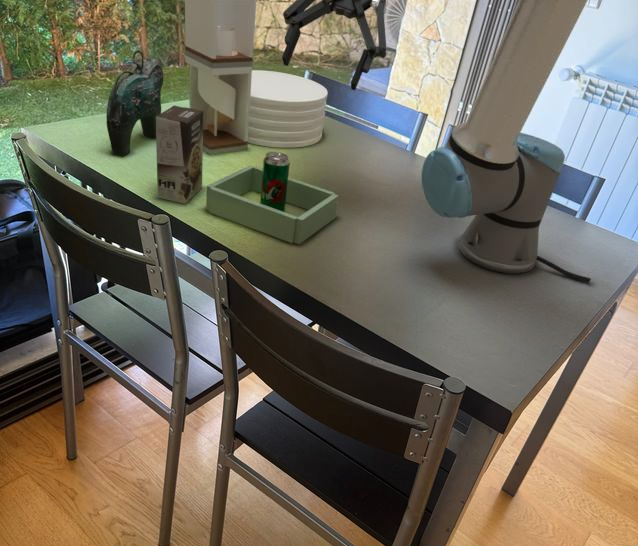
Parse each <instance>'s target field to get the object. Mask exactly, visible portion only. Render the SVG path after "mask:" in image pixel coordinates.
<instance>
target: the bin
mask: <svg viewBox="0 0 638 546" xmlns="http://www.w3.org/2000/svg"><path fill="white" fill-rule="evenodd" d="M262 172H263V167H260V166H253V165H248V166H246V167H243V168H241V169H239V170H237V171H234V172H233V173H231V174H229V175H226V176H224V177H222V178H221V179H220V178H219V179H218V180H215V181H213V182H212V183H210V184H207V185H206V194H205V195H206V197H205V198H206V200H205V201H206V202H205V209H206V210H207V211H208V213H210V214H213V215H215V216H218V217H220V218H223V219H226V220H229V221H232V222H234V223H236V224H239V225H242V226H245V227H246V228H247V227H248V228H250V229H253V230H255V231H258V232H261V233H263V234H266V235H268V236H272V237H274V238H276V239H279V240H282V241H283V242H284V241H285V242H287V243H290V244H294V243H295V244H297V245H300V244H302V243H303V242H305V241H306V240H307V239H308V238H311V237H312V236H313V235H314V234H316V233H317V232H318V231H320V230H321V229H322V228H324V227H325V226H327V225H328V224H329V223H330V222H332V221H333V220H335V219H336V215H337V209H338V204H339V203H338V202H339V198H340V197H339V196H340V195H338V194H336V193H335V192H333V191H330V190H327V189H325V188H321V187H320V186H319V187H318V186H316V185H313V184H311V183H307V182H304V181H301V180H298V179H295V178H292V177H290V176H288V185H287V195H286V204H287V203H288V204H290V205H292V206H296V207H299V208H301V209H304V210H307V211H305V212H304V213H302V214H301V215H299V216H297V215H293V214H290V213H288V212H286V211H285V212H282V211H280V210H277V209H274V208H271V207H268V206H266V205H263V204H260V202H258V201H254V200H252V199H249V198H247V197H243V195H245V194H246V193H248V192H250V191H252V192H253V191H254V192H256V193H260V194H261V185H262Z"/></svg>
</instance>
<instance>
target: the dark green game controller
mask: <svg viewBox="0 0 638 546" xmlns="http://www.w3.org/2000/svg"><path fill="white" fill-rule="evenodd" d="M138 53H139V54H140V57H141V61H134V59H135V57H136V55H137V54H138ZM132 59H133V63H134V64H135V66H134V69H133V71H130V70H125V71H122V72H121V73H119V74H118V76H116V77H115V80H114V84H113V86H112V88H111V89H110V93H109V96H108V101H107V108H106V114H105V115H106V116H105V117H106V129H107V134H108V139H109V142H110V149H111V153H112V155H114V156H119V157H125V156H127V155H129V154H130V153H131V141H132V134H133V131H134V128H135V125H136V124H137V122H138V121H140V125H141V132H142V135H143V137H145V138H148V139H153V140H156V116H158V115H159V114H161V113H162V99H161V98H162V97H161V96H162V95H161V94H162V92H161V91H162V87H163V84H164V72H163V67H162V66H161V65H160V64H159V63H156V62H154V61H153V60H152V59H151V57H150V55H149V54H146V59H144V54H143V52H142V51H141V50H138V49H136V50H134V51H132Z"/></svg>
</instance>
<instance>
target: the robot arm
mask: <svg viewBox="0 0 638 546" xmlns="http://www.w3.org/2000/svg"><path fill="white" fill-rule="evenodd" d="M315 1H316V0H295V1H294V2H293V3H292V4H290V5H289V6H288V7H287V8H286V9H285V10H284V11H283V13H282V17H283V19H284V23H285V25H288V28H287V29H286V33H285V35H284V44H285V49H284V51H283V53H282V56H281V60H282V62H283V63H282V64H283V65H284V66H286V67H288V66H289V64H290V62H291V59H292V57H293V54H294V52H295V49H296V47H297V44H298V42H299V39H300V37H301V34H302V32H301V29H302V28H304V27H306V26H307V25H309V24H311V23H313V22H314V21H316V20H317V19H320V18H321V17H323V16H325V15H329V14H331V13H333V12H334V13H335V15H338V16H344V17H345V18H347V19H349V20H352V19H355V18H356V21H357V24H358V26H359V29H360V30H359V31H360V33H361V36H362V39H363V41H364V44H365V48H366V49H365V48H364V49H363V51H362V54H361V56H360V59H359V61H358V64H357V66H356V68H355V70H354V73H353V75H352V77H351V80H350V89H351V90H352V91H356V90H357V86H358V85H359V82H360V80H361V77H362V75H363V73H364V74H368V73H369V72H370V69H371V67H372V64H373V62H374V59H375V58H381V59H385V58H386V57H387V40H386V39H387V37H386V25H385V24H386V23H385V14H386V9H387V0H321V1H319V2H317V3H315V4H314V5H312V4H313V3H314V2H315ZM587 3H588V0H518V2H517V4H516V6H515V8H514V11H513V13H512V16H511V18H510V19H509V22H508V24H507V27H506V29H505V31H504V34H503V36H502V38H501V40H500V43H499V45H498V48H497V50H496V52H495V55H494V57H493V59H492V62H491V64H490V65H489V68H488V71H487V73H486V76H485V77H484V80H483V81H482V85H481V87H480V88H479V91H478V94H477V96H476V98H475V101H474V103H473V106H472V108H471V111H470V112H469V114H468V117H467V119H466V121H464V122H462V123H459V124H456V125H455V126H454V127H453V129H452V131H451V133H450V135H449V138H448V141H447V143H446V145H445V146H444V147H443V146H439V147H437V148H436V149H434V150H432V151H430V152H429V153H428V154H427V156H426V157H425V159H424V161H423V164H422V168H421V185H422V186H421V187H422V190H423V195H424V198H425V200H426V202H427V204H428V205H429V207H430V209H432V211H433V212H435V214H437V215H439V216H440V217H443V218H446V219H447V218H449V219H450V218H451V219H453V218H454V219H455V218H458V219H463V218H466V217H471V216H474V218H473V219H472V220H471V221H470V223H469V225H468V226H467V227H466V229H465V230H464V231H463V233H462V234H461V237H460V240H459V244H458V249H459V251H460V253H461V254H462V255H463V257H465V258H466V259H467V260H468V261H470V262H472V263H474V264H475V265H477V266H479V267H481V268H484V269H487V270H489V271H493V272H496V273H497V272H498V273H503V274H513V275H515V274H523V273H527V272H529V271H531V270H533V268H534V267H535V265H536V262H537V261H538V262H540V263H542V264H543V265H545V266H548V267H550V268H551V269H553V270H554V271H556V272H558V273H560V274H562V275H564V276H565V277H569V278H571V279H574V280H578V281H580V282H581V281H582V282H585V283H588V284H589V283H590V282H591V280H592V279H591V278H590V277H586V276H583V275H580V274H576V273H572V272H570V271H568V270H565V269H564V268H562V267H560V266H559V265H556V264H555V263H554V262H552V261H549V260H547V259H545V258H544V257H542V256H539V231H540V225H541V223H542V221H543V218H544V216H545V213H546V210H547V208H548V205H549V203H550V200H551V198H552V195H553V192H554V190H555V187H556V184H557V182H558V180H559V177H560V176H561V174H562V169H563V166H564V163H565V159H566V156H565V152H564V151H563V150H562V149H561V147H559V146H558V145H556V144H554V143H552V142H550V141H548V140H545V139H543V138H541V137H537V136H535V135H531V134H528V133H525V132H522V131H523V128H524V126H525V124H526V122H527V121H528V118H529V116H530V114H531V112H532V111H533V108H534V106H535V104H536V102H537V101H538V99H539V96H540V95H541V93H542V91H543V89H544V86H545V85H546V83H547V81H548V79H549V77H550V75H551V73H552V71H553V69H554V67H555V65H556V63H557V61H558V59H559V57H560V56H561V54H562V52H563V50H564V48H565V45H566V44H567V42H568V40H569V38H570V36H571V34H572V33H573V30H574V28H575V26H576V24H577V23H578V20H579V18H580V16H581V15H582V12H583V11H584V9H585V7H586V5H587ZM371 8H372V9H373V13H374V14H375V15H376V24H377V25H376V26H377V37H378V38H377V40H378V46H377V45H376V44H375V41H374V38H373V35H372V32H371V29H370V26H369V23H368V19H367V17H366V14H365V12H366V11H367V10H369V9H371Z"/></svg>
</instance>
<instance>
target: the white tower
mask: <svg viewBox="0 0 638 546" xmlns="http://www.w3.org/2000/svg"><path fill="white" fill-rule="evenodd" d="M256 10H257V0H184V62H185V63H187V64H189V84H188V85H189V87H188V88H189V90H188V91H189V93H188V94H189V97H188V98H189V99H188V101H189V102H188V103H189V107H188V108H192V109H197V110H202V111H204V112H203V152H204V153H206V154H208V155H209V156H212V155H219V154H220V155H221V154H227V153H235V152H241V151H247V150H248V144H249V143H248V126H249V110H250V94H251V78H252V70H253V61H254V60H253V59H254V45H255V29H256V27H255V26H256V12H257V11H256Z"/></svg>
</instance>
